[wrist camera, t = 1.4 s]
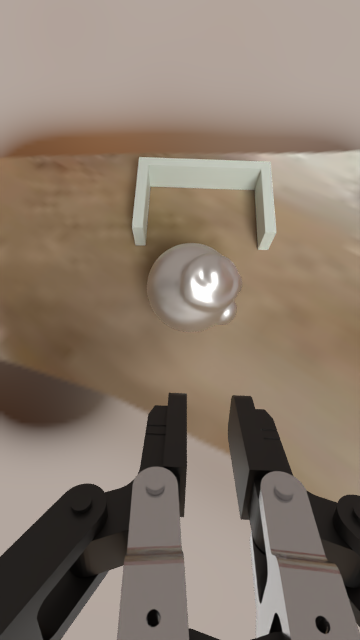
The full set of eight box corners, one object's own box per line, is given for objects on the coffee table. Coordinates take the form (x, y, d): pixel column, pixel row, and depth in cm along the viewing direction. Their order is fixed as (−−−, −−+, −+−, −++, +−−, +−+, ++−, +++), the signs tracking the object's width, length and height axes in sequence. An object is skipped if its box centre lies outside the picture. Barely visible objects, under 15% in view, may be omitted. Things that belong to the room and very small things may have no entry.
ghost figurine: (185, 363, 34) (189, 335, 24) (135, 298, 36) (120, 249, 27) (249, 315, 36) (275, 272, 26) (197, 256, 38) (204, 198, 29)
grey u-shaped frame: (135, 245, 39) (131, 227, 36) (142, 178, 42) (139, 157, 39) (267, 249, 39) (276, 232, 35) (263, 183, 42) (270, 161, 39)
